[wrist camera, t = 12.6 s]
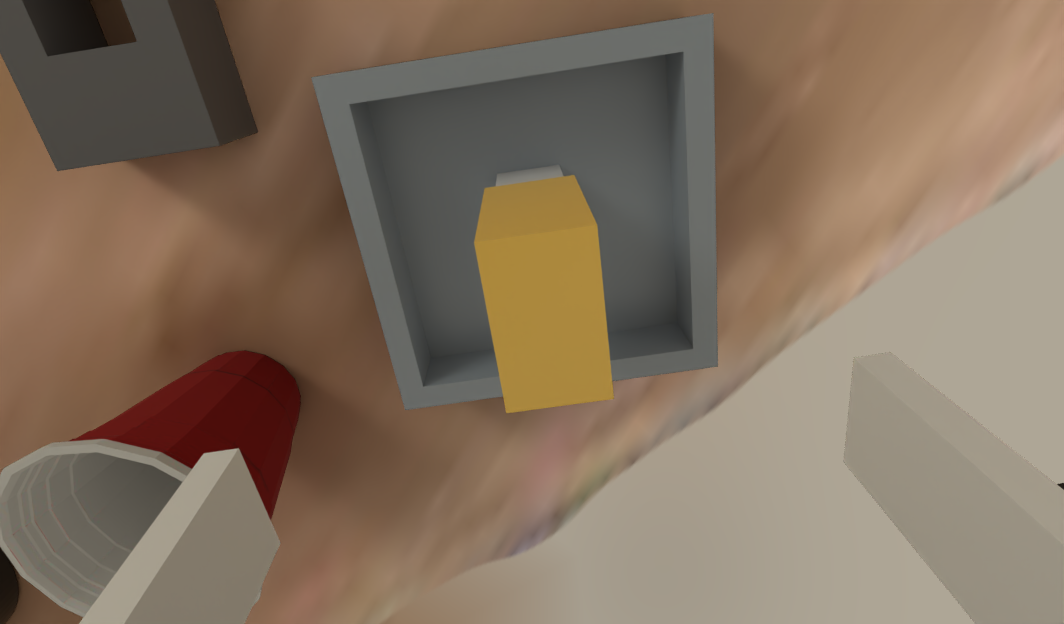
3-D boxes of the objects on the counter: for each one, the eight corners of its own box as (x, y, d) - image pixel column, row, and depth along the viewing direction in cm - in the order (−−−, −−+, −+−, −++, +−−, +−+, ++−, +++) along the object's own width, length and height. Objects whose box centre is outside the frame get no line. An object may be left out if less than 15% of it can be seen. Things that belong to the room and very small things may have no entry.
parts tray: (416, 370, 34) (405, 410, 30) (338, 72, 27) (311, 77, 23) (695, 330, 33) (717, 366, 29) (685, 17, 26) (713, 13, 23)
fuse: (508, 280, 30) (506, 413, 20) (489, 164, 28) (474, 242, 17) (577, 270, 30) (613, 398, 19) (564, 153, 28) (597, 224, 17)
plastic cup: (109, 342, 32) (-96, 494, 21) (287, 284, 31) (166, 413, 20) (213, 487, 37) (87, 675, 26) (372, 441, 36) (310, 616, 25)
